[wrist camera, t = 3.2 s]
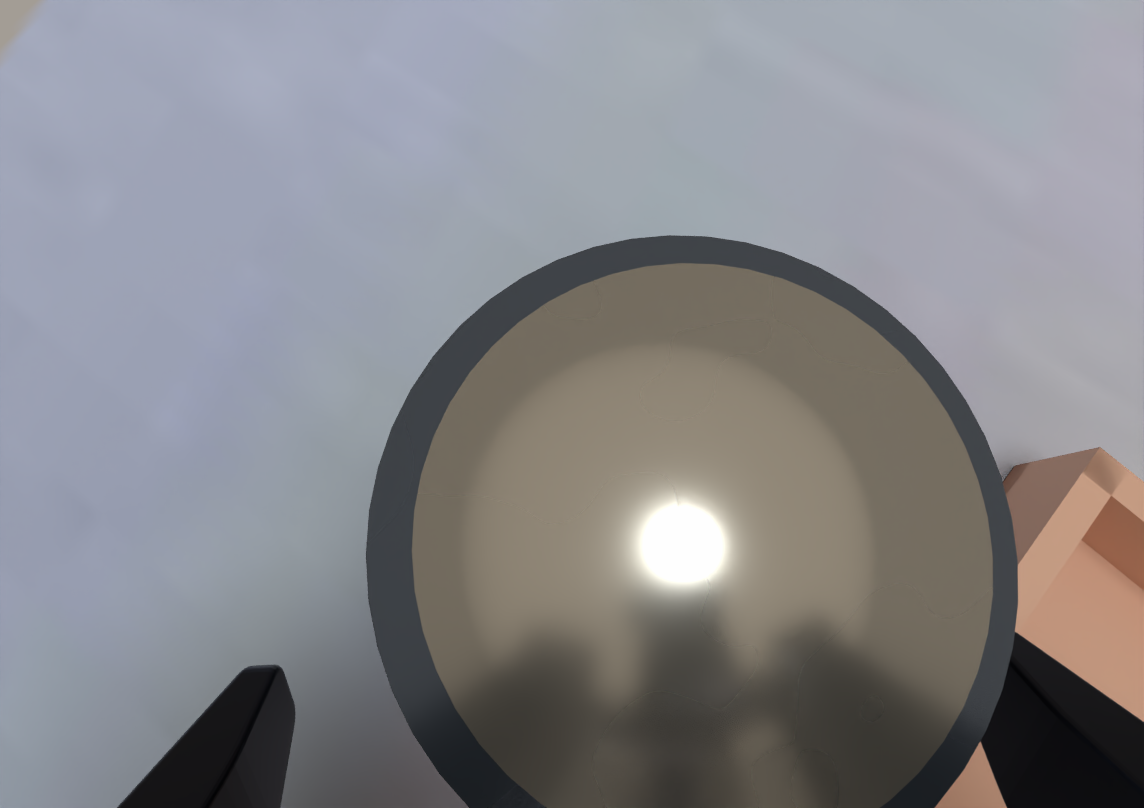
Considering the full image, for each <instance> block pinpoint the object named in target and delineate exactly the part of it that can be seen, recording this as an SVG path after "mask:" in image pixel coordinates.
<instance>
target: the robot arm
mask: <svg viewBox="0 0 1144 808" xmlns="http://www.w3.org/2000/svg"><path fill="white" fill-rule="evenodd" d="M294 724H295V705H294V701H293V698H292V695H291V692H290V689H289V686H288V683H287V680H286V677H285V674H284V671H283V669H282V668H281V667H280V666H278V665H258V666H249V667H247V668H245V669H244V670H242V671H241V672H240V673H239V674H238V675H237V676H236V677H235V678H234V680H233V681H232V682H231V683H230V684H229V685H228V686H227V687H226V688H225V689H224V691H223V692H222V693H221V694H220V695H219V696H218V697H217V698H216V699H215V700H214V702H213V703H212V704H211V705H210V706H209V707H208V708H207V709H206V710H205V711H204V713H203V714H202V715H201V716H200V717H199V718H198V719H197V720H196V721H195V722H194V724H193V725H192V726H191V727H190V728H189V729H188V730H187V731H186V732H185V733H184V735H183V736H182V737H181V738H180V739H179V740H178V741H177V742H176V743H175V744H174V746H173V747H172V748H171V749H170V750H169V751H168V752H167V753H166V754H165V755H164V757H163V758H162V759H161V760H160V761H159V762H158V763H157V764H156V765H155V766H154V768H153V769H152V770H151V771H150V772H149V773H148V774H147V775H146V776H145V777H144V779H143V780H142V781H141V782H140V783H139V784H138V785H137V786H136V787H135V788H134V790H133V791H132V792H131V793H130V794H129V795H128V796H127V797H126V798H125V799H124V801H123V802H122V803H121V804H120V805H119V806H118V807H117V808H280V805H281V800H282V794H283V788H284V782H285V776H286V771H287V765H288V759H289V753H290V747H291V742H292V736H293V730H294ZM980 742H981V744H982V747H983V749H984V752H985V755H986V757H987V760H988V762H989V765H990V768H991V770H992V773H993V775H994V778H995V781H996V783H997V786H998V788H999V790H1000V793H1001V795H1002V798H1003V800H1004V802H1005V805H1006V807H1007V808H1144V722H1143V721H1142V720H1141V719H1139V718H1138V717H1136V716H1135V715H1133V714H1132V713H1131V712H1129V711H1128V710H1126V709H1125V708H1124V707H1122V706H1121V705H1119V704H1118V703H1116V702H1115V701H1114V700H1112V699H1111V698H1109V697H1108V696H1106V695H1105V694H1104V693H1102V692H1101V691H1099V690H1098V689H1097V688H1095V687H1094V686H1092V685H1091V684H1089V683H1088V682H1087V681H1085V680H1084V679H1082V678H1081V677H1079V676H1078V675H1077V674H1075V673H1074V672H1072V671H1071V670H1070V669H1068V668H1067V667H1065V666H1064V665H1062V664H1061V663H1060V662H1058V661H1057V660H1055V659H1054V658H1052V657H1051V656H1050V655H1048V654H1047V653H1045V652H1044V651H1043V650H1041V649H1040V648H1038V647H1037V646H1035V645H1034V644H1033V643H1031V642H1030V641H1028V640H1027V639H1025V638H1024V637H1023V636H1021V635H1020V634H1018V633H1017V632H1015V635H1014V644H1013V649H1012V653H1011V657H1010V661H1009V665H1008V669H1007V673H1006V677H1005V681H1004V685H1003V689H1002V692H1001V695H1000V697H999V700H998V702H997V705H996V707H995V710H994V712H993V715H992V717H991V720H990V722H989V725H988V727H987V730H986V732H985V734H984V736H983V737H982V739H981V741H980Z"/></svg>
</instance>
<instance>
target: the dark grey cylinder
mask: <svg viewBox="0 0 1144 808" xmlns="http://www.w3.org/2000/svg"><path fill="white" fill-rule="evenodd" d="M366 564H367V581H368V599H369V605H370V610H371V616H372V621H373V626H374V631H375V637H376V642H377V647H378V650H379V653H380V656H381V659H382V662H383V665H384V668H385V671H386V674H387V677H388V680H389V683H390V686H391V689H392V692H393V694H394V696H395V698H396V700H397V702H398V704H399V706H400V708H401V710H402V712H403V714H404V716H405V718H406V720H407V723H408V725H409V727H410V729H411V731H412V733H413V735H414V736H415V738H416V739H417V741H418V742H419V744H420V745H421V747H422V748H423V750H424V751H425V753H426V754H427V756H428V757H429V759H430V760H431V762H432V763H433V765H434V766H435V768H436V769H437V771H438V772H439V774H440V775H441V776H442V777H443V778H444V779H445V781H446V782H447V783H448V784H449V785H450V786H451V787H452V788H453V790H454V791H455V792H456V793H457V794H458V795H459V796H460V798H461V799H462V800H463V801H464V802H465V803H466V804H467V806H468V807H469V808H935V807H936V806H937V804H938V803H939V802H940V800H941V799H942V798H943V796H944V795H945V794H946V793H947V791H948V790H949V789H950V787H951V786H952V785H953V784H954V782H955V781H956V780H957V778H958V777H959V776H960V774H961V773H962V772H963V771H964V769H965V767H966V765H967V764H968V762H969V760H970V758H971V757H972V755H973V753H974V751H975V750H976V748H977V746H978V744H979V743H980V741H981V739H982V737H983V736H984V734H985V732H986V730H987V727H988V725H989V722H990V720H991V717H992V715H993V712H994V710H995V707H996V705H997V702H998V700H999V697H1000V695H1001V692H1002V689H1003V685H1004V681H1005V677H1006V673H1007V669H1008V665H1009V661H1010V657H1011V653H1012V649H1013V644H1014V635H1015V626H1016V618H1017V609H1018V560H1017V552H1016V545H1015V538H1014V530H1013V523H1012V517H1011V513H1010V509H1009V505H1008V501H1007V497H1006V494H1005V490H1004V486H1003V482H1002V478H1001V475H1000V473H999V470H998V468H997V465H996V463H995V460H994V457H993V455H992V452H991V450H990V447H989V445H988V442H987V440H986V437H985V435H984V433H983V432H982V430H981V428H980V426H979V424H978V422H977V420H976V419H975V417H974V415H973V413H972V411H971V409H970V407H969V405H968V404H967V402H966V400H965V399H964V397H963V396H962V394H961V393H960V391H959V390H958V389H957V387H956V386H955V384H954V383H953V381H952V380H951V378H950V377H949V376H948V374H947V373H946V371H945V370H944V368H943V367H942V366H941V365H940V364H939V362H938V361H937V360H936V359H935V358H934V357H933V356H932V354H931V353H930V352H929V351H928V350H927V349H926V348H925V347H924V345H923V344H922V343H921V342H920V341H919V340H918V339H917V337H916V336H915V335H913V334H912V333H911V332H910V331H909V330H908V329H907V328H906V327H905V326H903V325H902V324H901V323H900V322H899V321H898V320H897V319H896V318H895V317H893V316H892V315H891V314H890V313H889V312H888V311H887V310H886V309H884V308H883V307H882V306H880V305H879V304H877V303H876V302H875V301H873V300H872V299H870V298H869V297H867V296H866V295H865V294H863V293H862V292H860V291H859V290H858V289H856V288H855V287H853V286H852V285H850V284H848V283H846V282H844V281H843V280H841V279H839V278H837V277H835V276H833V275H832V274H830V273H828V272H826V271H824V270H823V269H821V268H819V267H817V266H814V265H812V264H809V263H807V262H804V261H802V260H799V259H797V258H794V257H792V256H790V255H787V254H785V253H782V252H778V251H775V250H771V249H767V248H764V247H760V246H757V245H753V244H749V243H746V242H739V241H733V240H726V239H720V238H713V237H703V236H670V235H669V236H658V237H647V238H636V239H628V240H624V241H619V242H615V243H610V244H606V245H601V246H596V247H592V248H590V249H587V250H584V251H581V252H578V253H575V254H573V255H570V256H567V257H564V258H561V259H559V260H556V261H554V262H552V263H550V264H548V265H546V266H544V267H542V268H540V269H538V270H536V271H534V272H532V273H530V274H528V275H526V276H524V277H522V278H521V279H519V280H518V281H516V282H515V283H513V284H512V285H510V286H509V287H508V288H506V289H505V290H503V291H502V292H500V293H499V294H497V295H496V296H494V297H493V298H491V299H490V300H489V301H487V302H486V303H485V304H484V305H483V306H482V307H481V308H480V309H478V310H477V311H476V312H475V313H474V314H473V315H472V316H470V317H469V318H468V319H467V320H466V321H465V322H464V323H462V324H461V325H460V326H459V327H458V329H457V330H456V331H455V332H454V333H453V334H452V335H451V337H450V338H449V339H448V340H447V341H446V342H445V343H444V345H443V346H442V347H441V348H440V349H439V350H438V351H437V352H436V354H435V355H434V356H433V357H432V359H431V360H430V362H429V363H428V365H427V366H426V368H425V369H424V371H423V372H422V374H421V375H420V377H419V378H418V380H417V381H416V383H415V384H414V386H413V387H412V389H411V390H410V392H409V394H408V396H407V398H406V400H405V402H404V404H403V406H402V408H401V410H400V412H399V414H398V416H397V418H396V420H395V422H394V424H393V426H392V429H391V432H390V435H389V438H388V440H387V443H386V446H385V449H384V452H383V455H382V458H381V461H380V464H379V466H378V470H377V475H376V480H375V485H374V490H373V495H372V500H371V504H370V509H369V521H368V535H367V548H366Z"/></svg>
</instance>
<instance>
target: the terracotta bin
mask: <svg viewBox="0 0 1144 808" xmlns="http://www.w3.org/2000/svg"><path fill="white" fill-rule="evenodd" d="M1003 486H1004V490H1005V494H1006V497H1007V501H1008V505H1009V509H1010V513H1011V517H1012V523H1013V530H1014V538H1015V545H1016V552H1017V560H1018V609H1017V618H1016V626H1015V632H1017V633H1018V634H1020V635H1021V636H1023V637H1024V638H1025V639H1027V640H1028V641H1030V642H1031V643H1033V644H1034V645H1035V646H1037V647H1038V648H1040V649H1041V650H1043V651H1044V652H1045V653H1047V654H1048V655H1050V656H1051V657H1052V658H1054V659H1055V660H1057V661H1058V662H1060V663H1061V664H1062V665H1064V666H1065V667H1067V668H1068V669H1070V670H1071V671H1072V672H1074V673H1075V674H1077V675H1078V676H1079V677H1081V678H1082V679H1084V680H1085V681H1087V682H1088V683H1089V684H1091V685H1092V686H1094V687H1095V688H1097V689H1098V690H1099V691H1101V692H1102V693H1104V694H1105V695H1106V696H1108V697H1109V698H1111V699H1112V700H1114V701H1115V702H1116V703H1118V704H1119V705H1121V706H1122V707H1124V708H1125V709H1126V710H1128V711H1129V712H1131V713H1132V714H1133V715H1135V716H1136V717H1138V718H1139V719H1141V720H1142V721H1143V722H1144V482H1143V481H1142V480H1141V479H1139V478H1138V477H1137V476H1136V475H1134V474H1133V473H1132V472H1131V471H1129V470H1128V469H1127V468H1126V467H1124V466H1123V465H1122V464H1121V463H1119V462H1118V461H1117V460H1116V459H1114V458H1113V457H1112V456H1110V455H1109V454H1108V453H1107V452H1105V451H1104V450H1103V449H1102V448H1100V447H1098V448H1094V449H1089V450H1085V451H1080V452H1076V453H1071V454H1066V455H1062V456H1057V457H1053V458H1048V459H1044V460H1039V461H1034V462H1030V463H1025V464H1021V465H1016V466H1014V468H1013V469H1012V471H1011V472H1010V473H1009V475H1008V476H1007V477H1006V479H1005V480H1004V482H1003ZM935 808H1007V807H1006V805H1005V802H1004V800H1003V798H1002V795H1001V793H1000V790H999V788H998V786H997V783H996V781H995V778H994V775H993V773H992V770H991V768H990V765H989V762H988V760H987V757H986V755H985V752H984V749H983V747H982V744H981V742H980V743H979V744H978V746H977V748H976V750H975V751H974V753H973V755H972V757H971V758H970V760H969V762H968V764H967V765H966V767H965V769H964V771H963V772H962V773H961V774H960V776H959V777H958V778H957V780H956V781H955V782H954V784H953V785H952V786H951V787H950V789H949V790H948V791H947V793H946V794H945V795H944V796H943V798H942V799H941V800H940V802H939V803H938V804H937V806H936V807H935Z"/></svg>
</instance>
